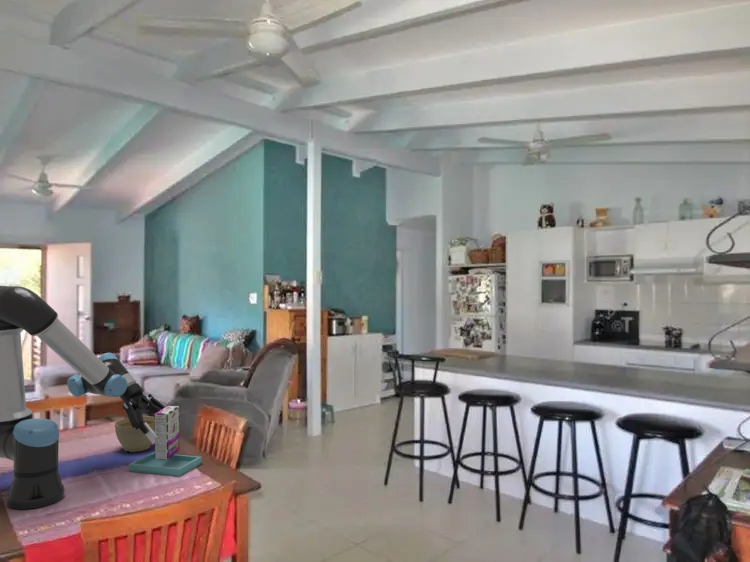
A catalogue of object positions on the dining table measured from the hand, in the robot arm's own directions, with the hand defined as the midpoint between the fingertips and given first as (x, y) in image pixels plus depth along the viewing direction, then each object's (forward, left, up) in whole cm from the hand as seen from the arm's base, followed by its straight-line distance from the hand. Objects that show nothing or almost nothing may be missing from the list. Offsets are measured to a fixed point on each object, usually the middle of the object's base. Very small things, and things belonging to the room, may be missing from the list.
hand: (165, 434), depth 202 cm
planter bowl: (+16, +23, -12) cm, 30 cm away
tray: (0, -1, -11) cm, 12 cm away
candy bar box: (0, -1, -7) cm, 8 cm away
